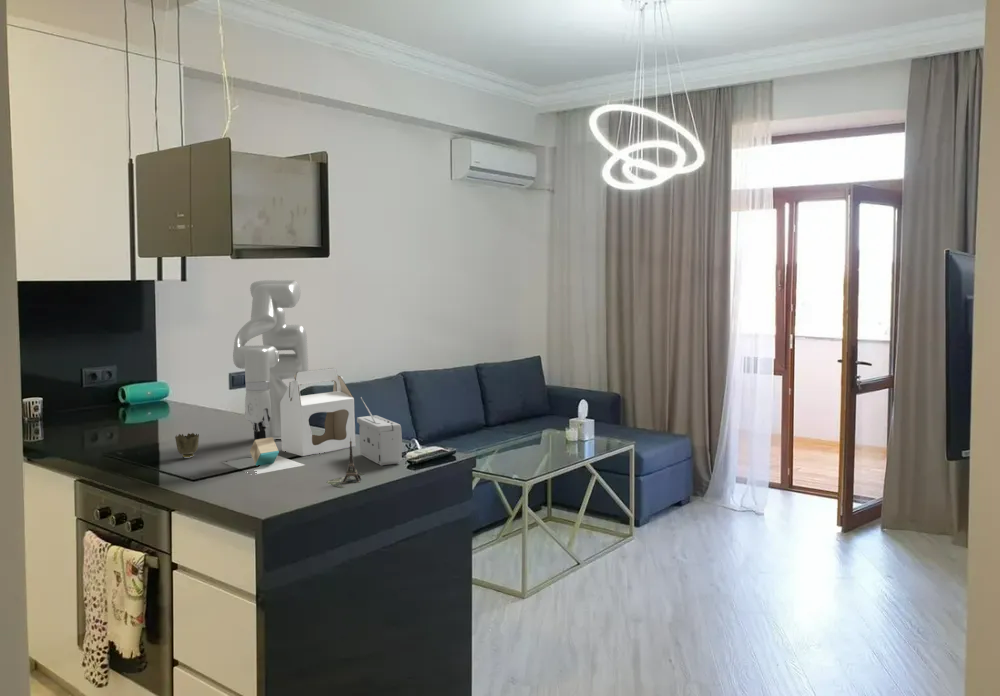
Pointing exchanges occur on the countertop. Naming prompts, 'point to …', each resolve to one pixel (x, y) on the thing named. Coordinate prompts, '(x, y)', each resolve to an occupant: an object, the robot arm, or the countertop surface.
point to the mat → (277, 465)
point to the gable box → (302, 407)
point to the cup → (187, 444)
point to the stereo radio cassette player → (380, 439)
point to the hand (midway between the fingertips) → (260, 442)
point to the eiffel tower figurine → (348, 473)
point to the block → (264, 451)
